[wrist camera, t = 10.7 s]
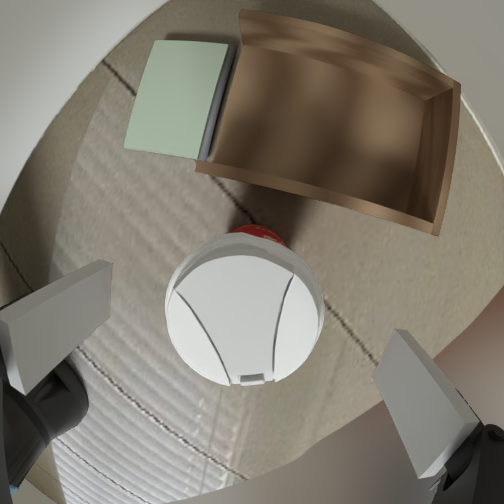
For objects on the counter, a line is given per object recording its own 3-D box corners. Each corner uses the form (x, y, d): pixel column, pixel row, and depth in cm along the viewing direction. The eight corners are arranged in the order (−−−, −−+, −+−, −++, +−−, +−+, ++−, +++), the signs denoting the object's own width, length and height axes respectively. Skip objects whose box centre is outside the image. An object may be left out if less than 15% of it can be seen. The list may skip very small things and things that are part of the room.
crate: (212, 175, 25) (194, 171, 18) (246, 45, 22) (240, 9, 15) (402, 224, 25) (438, 236, 18) (425, 100, 22) (460, 83, 16)
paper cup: (301, 289, 26) (332, 384, 13) (219, 300, 27) (181, 398, 13) (290, 204, 25) (321, 224, 11) (203, 217, 25) (137, 252, 12)
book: (207, 163, 24) (130, 151, 24) (237, 51, 22) (161, 45, 22) (203, 162, 23) (122, 149, 23) (235, 43, 20) (156, 38, 20)
